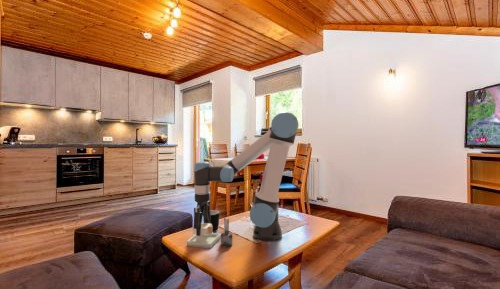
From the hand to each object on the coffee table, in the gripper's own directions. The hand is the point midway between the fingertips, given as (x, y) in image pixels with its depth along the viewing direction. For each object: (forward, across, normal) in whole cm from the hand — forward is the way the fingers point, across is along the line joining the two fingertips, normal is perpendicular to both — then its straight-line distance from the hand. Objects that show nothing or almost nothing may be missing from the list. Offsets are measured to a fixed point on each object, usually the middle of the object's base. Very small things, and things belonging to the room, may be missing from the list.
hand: (202, 238), depth 124 cm
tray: (+2, 0, +1) cm, 2 cm away
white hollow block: (-3, 0, 0) cm, 3 cm away
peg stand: (+2, 0, +13) cm, 13 cm away
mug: (+2, -16, -3) cm, 17 cm away
